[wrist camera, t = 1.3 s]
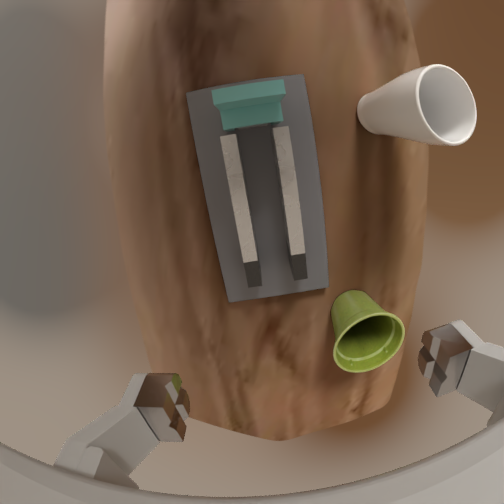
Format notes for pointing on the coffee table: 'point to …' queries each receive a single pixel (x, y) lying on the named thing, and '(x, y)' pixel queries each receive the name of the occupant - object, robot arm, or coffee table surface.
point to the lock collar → (250, 104)
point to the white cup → (421, 107)
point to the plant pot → (363, 332)
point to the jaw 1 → (241, 208)
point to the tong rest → (262, 193)
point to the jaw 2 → (289, 201)
